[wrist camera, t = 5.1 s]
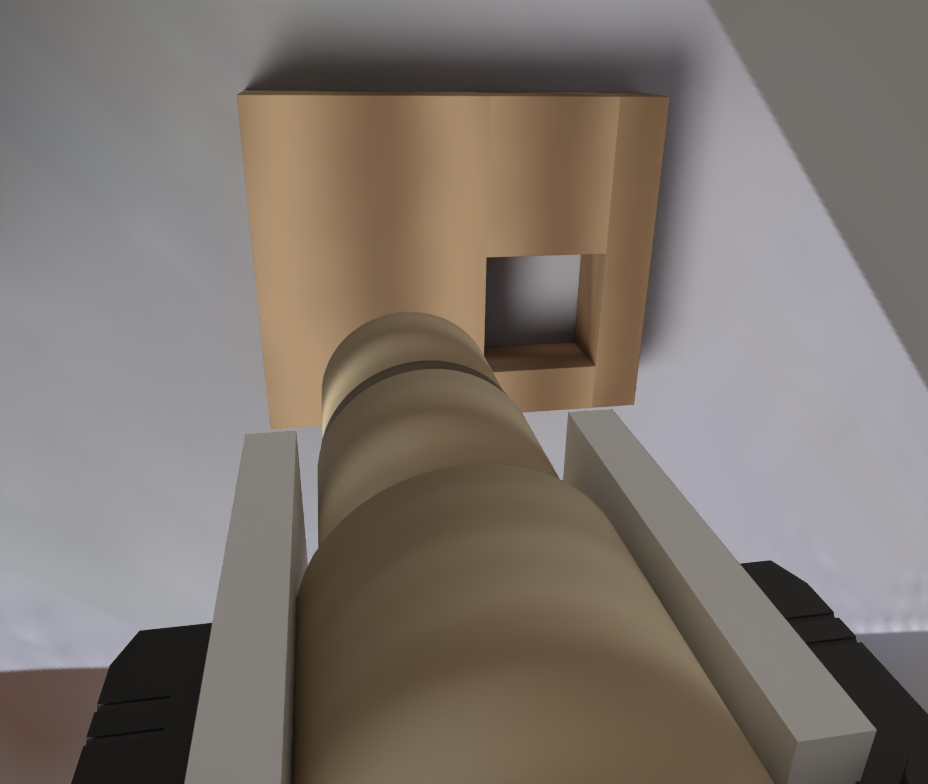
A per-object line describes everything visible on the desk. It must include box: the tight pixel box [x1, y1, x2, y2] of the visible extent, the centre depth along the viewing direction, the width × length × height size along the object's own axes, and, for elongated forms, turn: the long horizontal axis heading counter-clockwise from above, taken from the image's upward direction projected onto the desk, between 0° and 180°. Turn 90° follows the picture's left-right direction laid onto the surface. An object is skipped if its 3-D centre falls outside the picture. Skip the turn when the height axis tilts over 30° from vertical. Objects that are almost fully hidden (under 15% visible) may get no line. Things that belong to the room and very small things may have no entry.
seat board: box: [237, 91, 670, 429], centre depth 32 cm, size 16×13×3 cm
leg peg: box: [292, 312, 775, 784], centre depth 10 cm, size 4×4×14 cm
